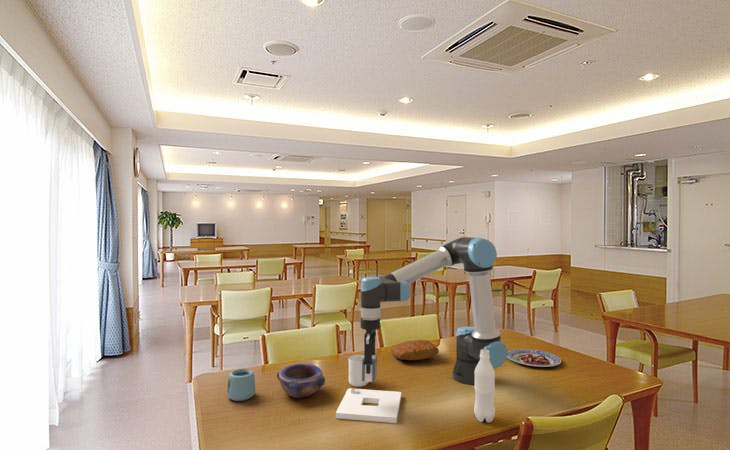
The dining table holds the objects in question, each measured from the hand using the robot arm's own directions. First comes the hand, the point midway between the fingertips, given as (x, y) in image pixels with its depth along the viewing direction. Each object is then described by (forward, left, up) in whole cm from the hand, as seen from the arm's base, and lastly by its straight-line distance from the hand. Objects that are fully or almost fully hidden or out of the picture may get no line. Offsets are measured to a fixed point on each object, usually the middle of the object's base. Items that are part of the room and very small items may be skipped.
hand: (369, 378), depth 158 cm
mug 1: (+54, -2, -11) cm, 55 cm away
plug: (0, 0, 0) cm, 0 cm away
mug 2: (+9, -23, -11) cm, 27 cm away
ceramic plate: (-74, -65, -12) cm, 99 cm away
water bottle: (-42, +3, -11) cm, 44 cm away
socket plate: (0, 0, -11) cm, 11 cm away
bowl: (+30, -7, -11) cm, 33 cm away
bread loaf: (-14, -58, -11) cm, 61 cm away
